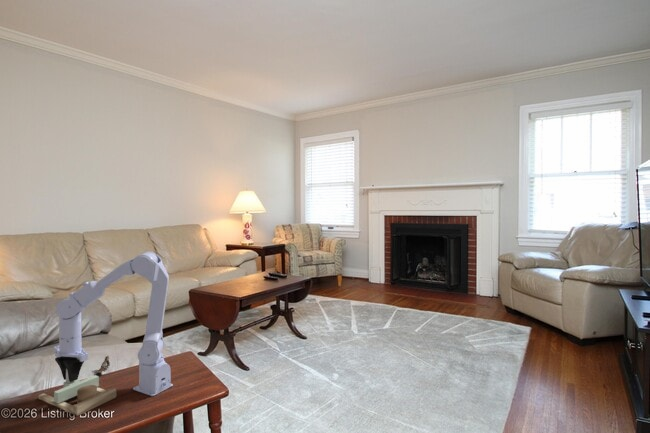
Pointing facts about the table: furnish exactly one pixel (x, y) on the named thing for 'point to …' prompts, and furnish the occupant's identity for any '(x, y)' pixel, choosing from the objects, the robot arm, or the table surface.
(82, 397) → the walnut puck
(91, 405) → the frame
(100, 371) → the brown figurine
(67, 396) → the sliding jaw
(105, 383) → the table surface
